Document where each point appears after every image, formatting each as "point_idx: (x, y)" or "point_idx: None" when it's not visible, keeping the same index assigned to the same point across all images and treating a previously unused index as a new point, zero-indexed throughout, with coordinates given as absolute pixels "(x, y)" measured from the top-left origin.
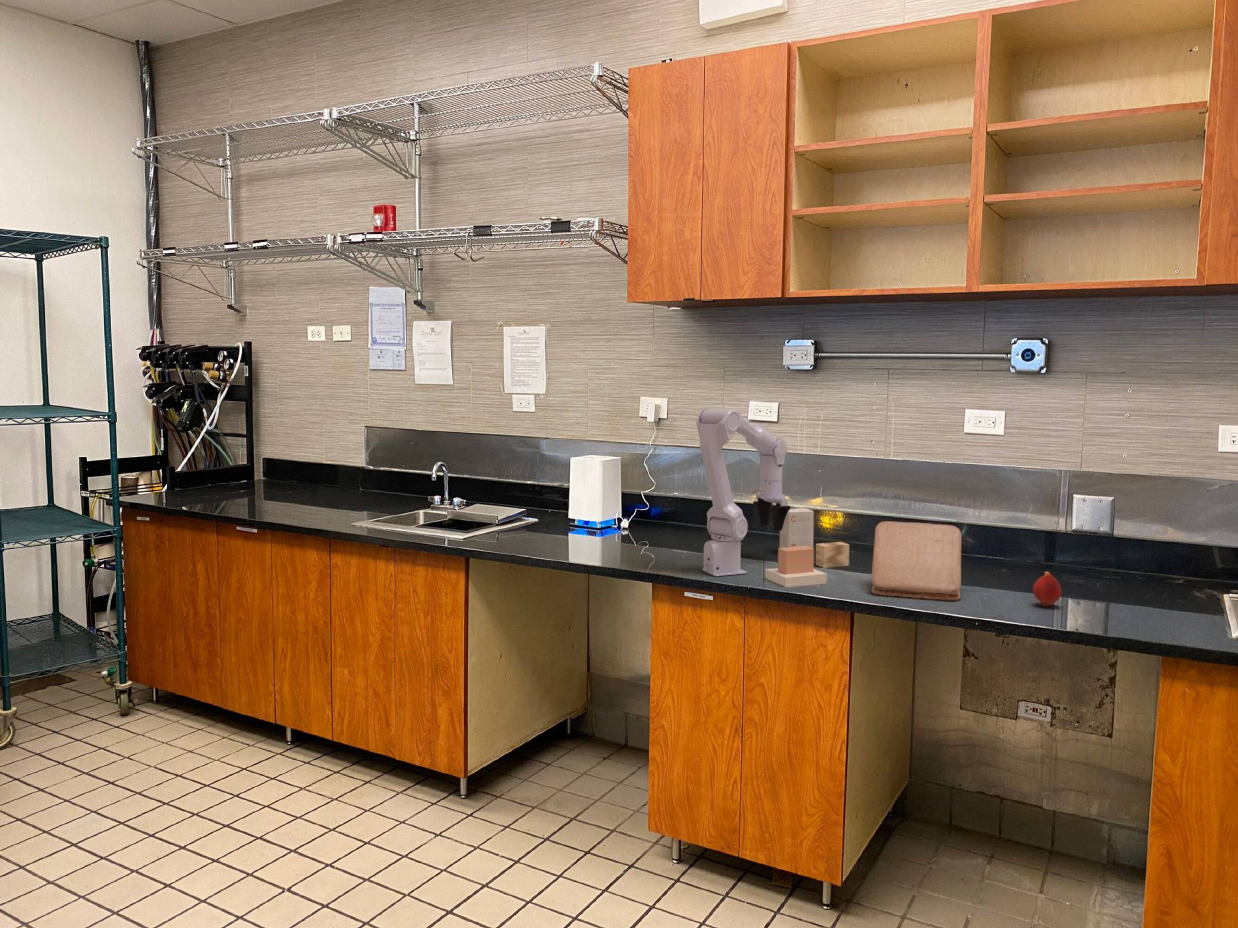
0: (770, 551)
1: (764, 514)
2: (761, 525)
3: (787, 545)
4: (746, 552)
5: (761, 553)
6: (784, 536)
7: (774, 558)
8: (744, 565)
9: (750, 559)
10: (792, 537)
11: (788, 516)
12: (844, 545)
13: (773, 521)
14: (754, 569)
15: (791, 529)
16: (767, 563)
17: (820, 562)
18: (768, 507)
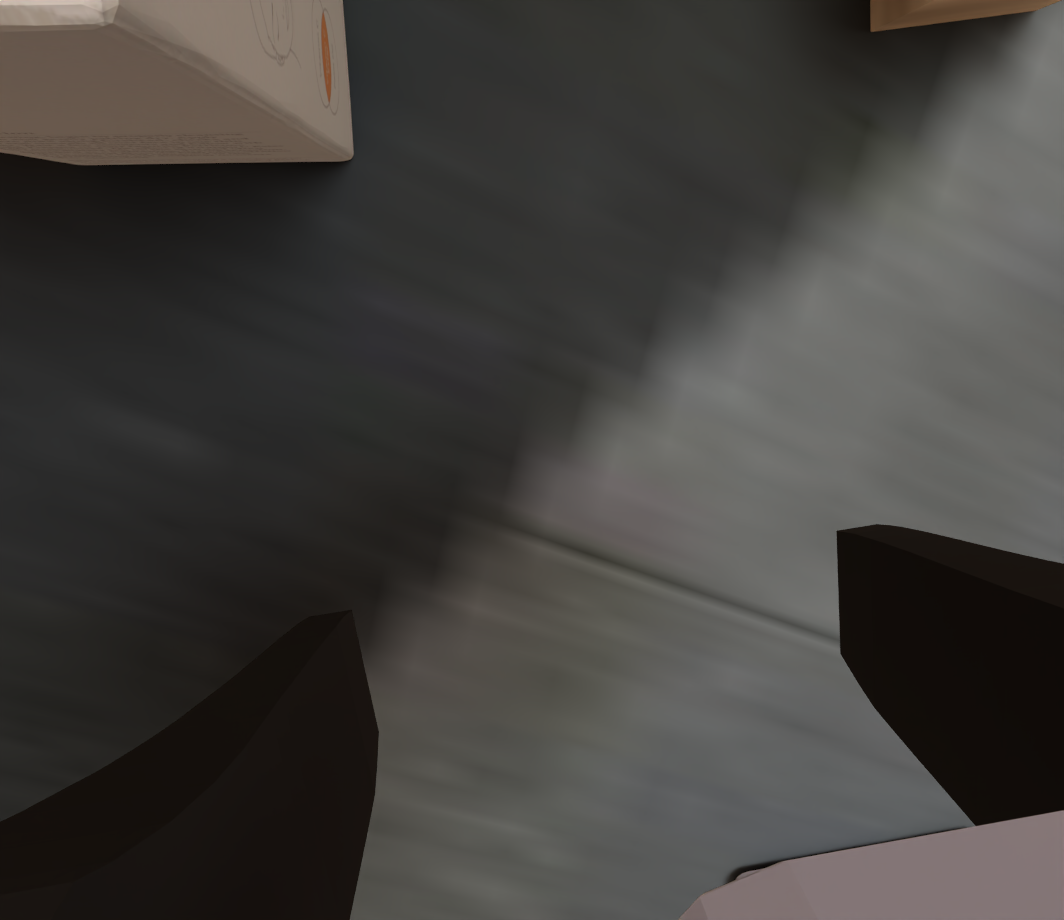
0: (13, 263)
1: (313, 847)
2: (372, 744)
3: (308, 151)
4: (51, 562)
5: (128, 417)
6: (150, 140)
7: (429, 371)
8: (667, 757)
9: (425, 631)
10: (302, 49)
11: (163, 49)
12: None
13: (962, 792)
14: (843, 722)
15: (268, 36)
16: (647, 531)
17: (996, 4)
18: (223, 897)
